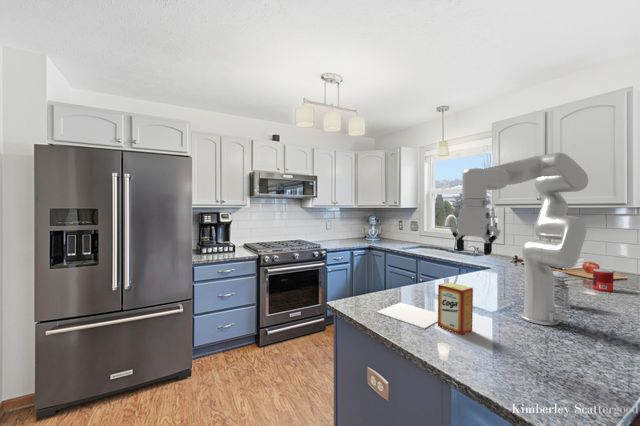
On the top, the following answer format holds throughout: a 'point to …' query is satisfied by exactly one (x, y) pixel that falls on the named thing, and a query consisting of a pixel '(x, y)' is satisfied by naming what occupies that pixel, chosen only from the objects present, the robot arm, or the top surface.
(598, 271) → the canned food
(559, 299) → the french press
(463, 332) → the baking soda box
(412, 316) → the mat
